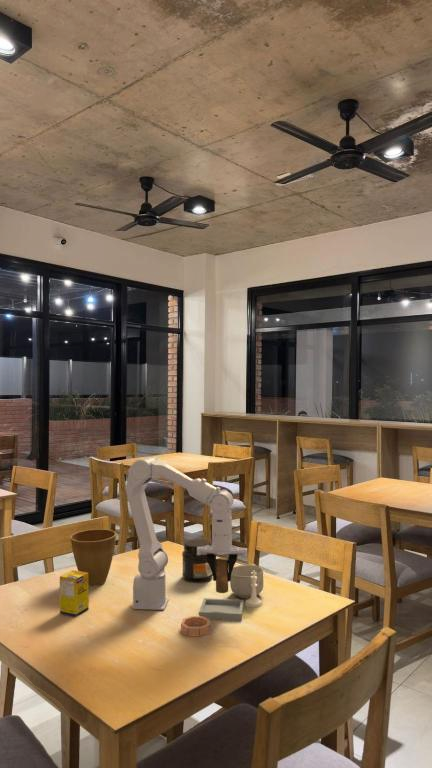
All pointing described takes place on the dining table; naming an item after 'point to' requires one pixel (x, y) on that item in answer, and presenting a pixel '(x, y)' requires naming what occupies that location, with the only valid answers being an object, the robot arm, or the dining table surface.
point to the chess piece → (253, 593)
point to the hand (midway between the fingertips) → (222, 579)
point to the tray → (222, 609)
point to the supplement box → (74, 593)
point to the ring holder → (195, 630)
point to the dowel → (221, 575)
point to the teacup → (246, 580)
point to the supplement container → (195, 561)
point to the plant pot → (94, 553)
